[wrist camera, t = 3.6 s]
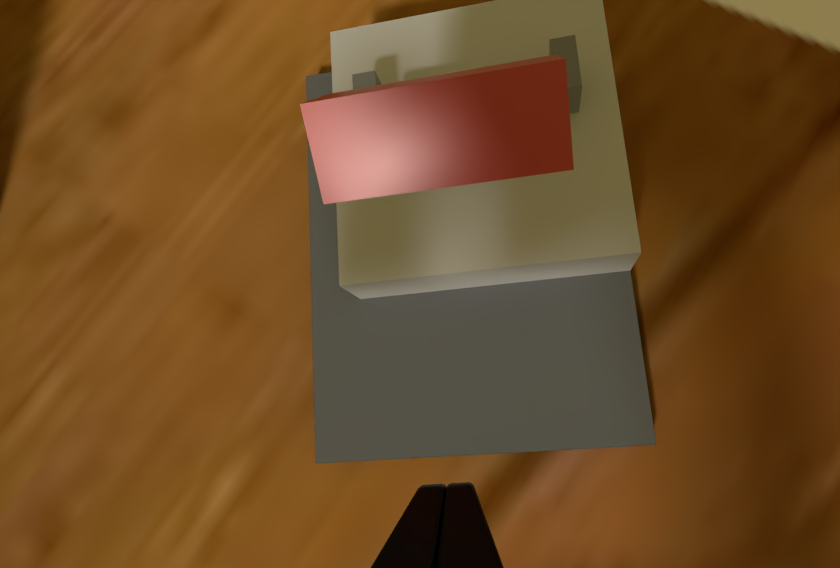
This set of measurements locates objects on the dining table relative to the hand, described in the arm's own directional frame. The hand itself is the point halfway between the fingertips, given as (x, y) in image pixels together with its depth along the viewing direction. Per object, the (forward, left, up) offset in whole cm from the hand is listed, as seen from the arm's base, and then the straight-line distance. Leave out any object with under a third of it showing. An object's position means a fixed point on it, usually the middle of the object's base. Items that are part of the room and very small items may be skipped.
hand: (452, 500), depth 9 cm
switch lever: (+10, -6, -8) cm, 15 cm away
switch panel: (+7, -3, -13) cm, 15 cm away
